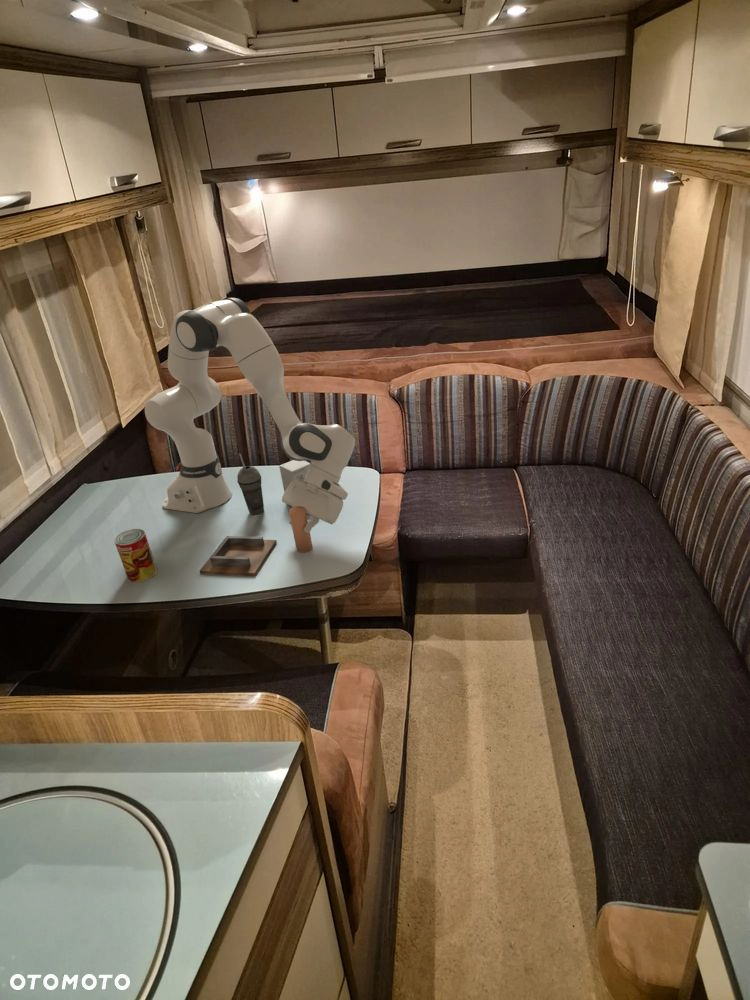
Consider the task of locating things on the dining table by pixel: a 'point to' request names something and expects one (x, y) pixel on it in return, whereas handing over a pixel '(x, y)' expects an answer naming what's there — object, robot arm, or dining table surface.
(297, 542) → the terracotta post
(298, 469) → the supplement box
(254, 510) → the beverage cup
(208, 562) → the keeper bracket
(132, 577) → the canned food
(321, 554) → the dining table surface
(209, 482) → the robot arm
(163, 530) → the dining table surface
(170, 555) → the dining table surface
